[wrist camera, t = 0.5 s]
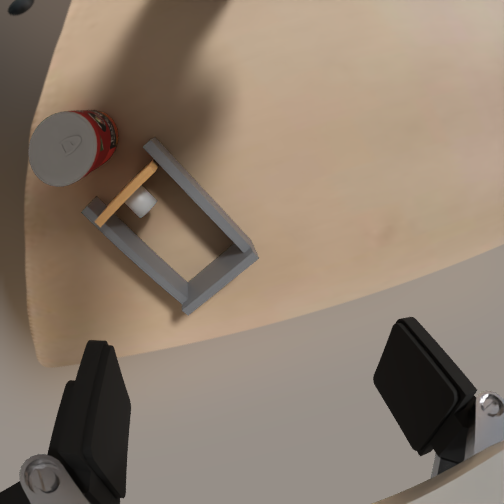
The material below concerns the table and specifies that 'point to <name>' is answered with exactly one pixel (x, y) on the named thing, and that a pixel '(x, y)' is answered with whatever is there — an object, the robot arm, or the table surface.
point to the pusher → (132, 196)
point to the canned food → (71, 145)
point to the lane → (157, 268)
